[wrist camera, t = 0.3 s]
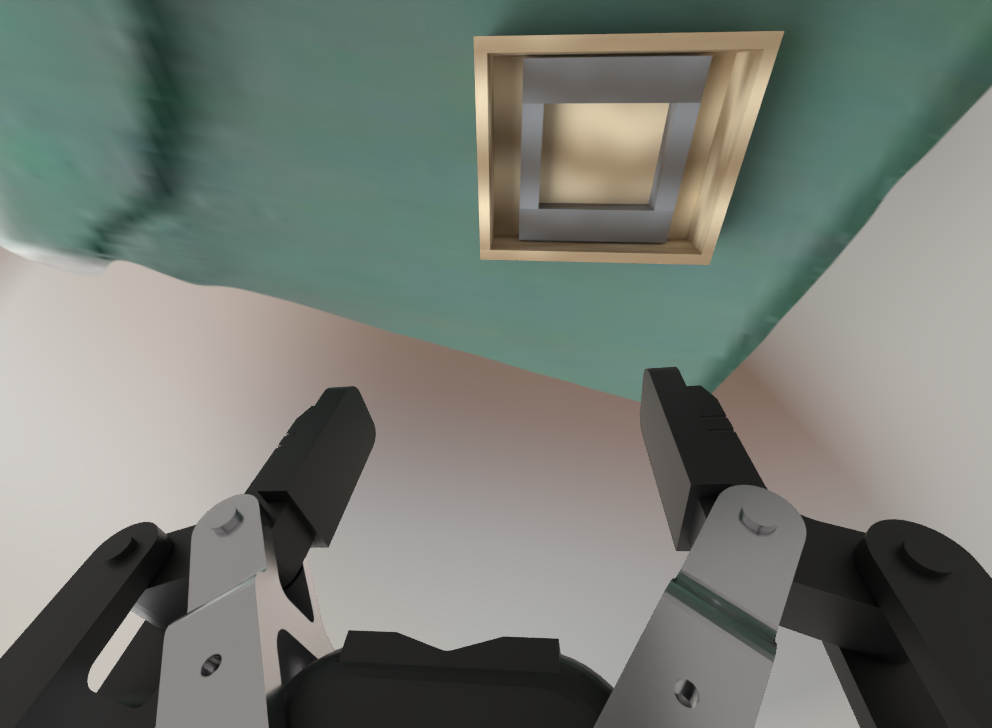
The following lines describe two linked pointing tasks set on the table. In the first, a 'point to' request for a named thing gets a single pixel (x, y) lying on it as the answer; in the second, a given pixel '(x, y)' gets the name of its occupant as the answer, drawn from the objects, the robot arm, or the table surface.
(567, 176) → the crate
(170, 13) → the table surface
